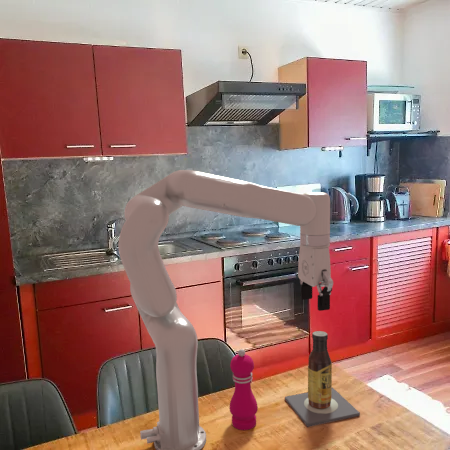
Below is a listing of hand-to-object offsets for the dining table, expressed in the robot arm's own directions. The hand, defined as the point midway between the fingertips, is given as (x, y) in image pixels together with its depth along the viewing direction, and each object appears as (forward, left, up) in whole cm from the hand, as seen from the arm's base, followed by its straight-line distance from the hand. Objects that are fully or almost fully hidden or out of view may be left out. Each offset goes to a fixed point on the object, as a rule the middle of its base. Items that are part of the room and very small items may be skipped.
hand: (314, 304), depth 118 cm
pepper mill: (-21, -1, -29) cm, 36 cm away
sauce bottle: (+1, -1, -28) cm, 28 cm away
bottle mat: (+1, -1, -29) cm, 29 cm away
